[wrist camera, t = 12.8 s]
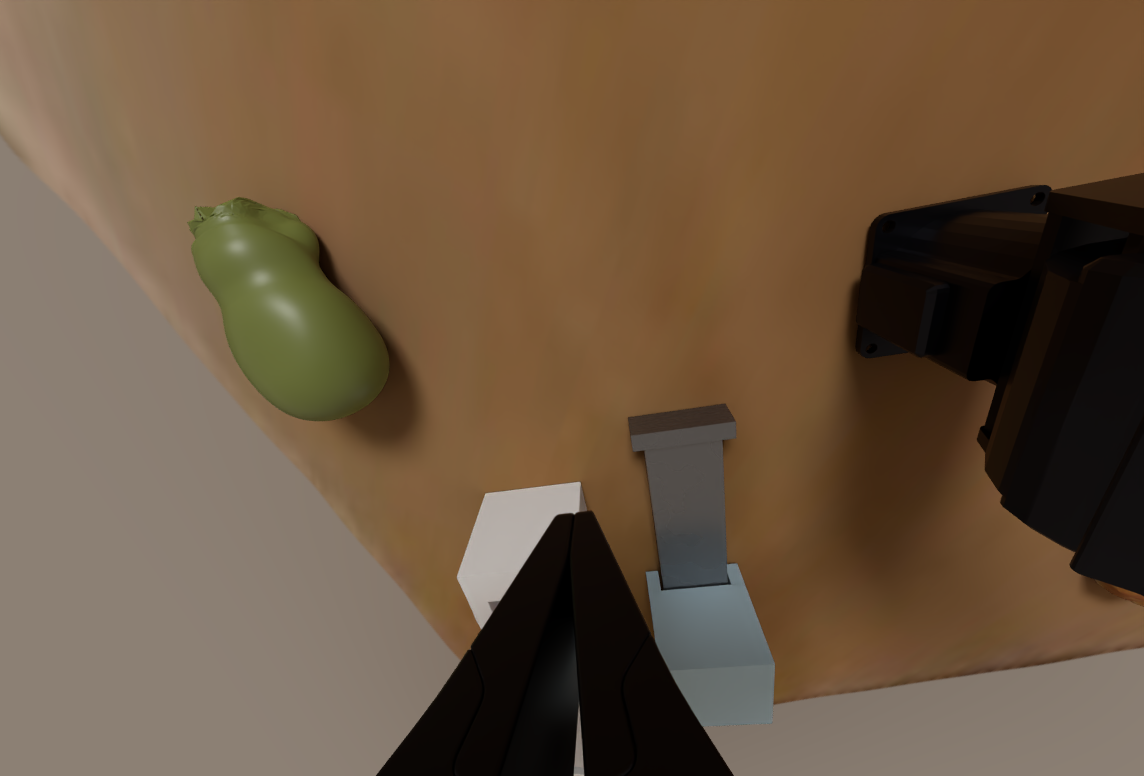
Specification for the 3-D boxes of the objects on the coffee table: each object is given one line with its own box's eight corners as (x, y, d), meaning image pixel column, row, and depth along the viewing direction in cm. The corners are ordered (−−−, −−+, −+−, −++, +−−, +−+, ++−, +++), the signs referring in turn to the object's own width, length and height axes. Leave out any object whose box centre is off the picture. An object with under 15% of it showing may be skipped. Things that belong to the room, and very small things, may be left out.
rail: (725, 403, 22) (735, 421, 20) (732, 634, 30) (740, 659, 29) (627, 417, 22) (630, 435, 21) (662, 639, 31) (666, 663, 30)
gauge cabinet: (580, 481, 25) (576, 565, 19) (601, 572, 28) (603, 664, 23) (479, 494, 25) (449, 578, 20) (512, 580, 29) (494, 671, 23)
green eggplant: (269, 457, 18) (109, 237, 15) (348, 412, 23) (236, 240, 20) (368, 410, 16) (208, 161, 14) (429, 373, 21) (318, 184, 19)
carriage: (736, 563, 27) (774, 664, 21) (738, 620, 30) (772, 723, 24) (645, 571, 28) (659, 671, 22) (654, 626, 30) (669, 728, 25)
